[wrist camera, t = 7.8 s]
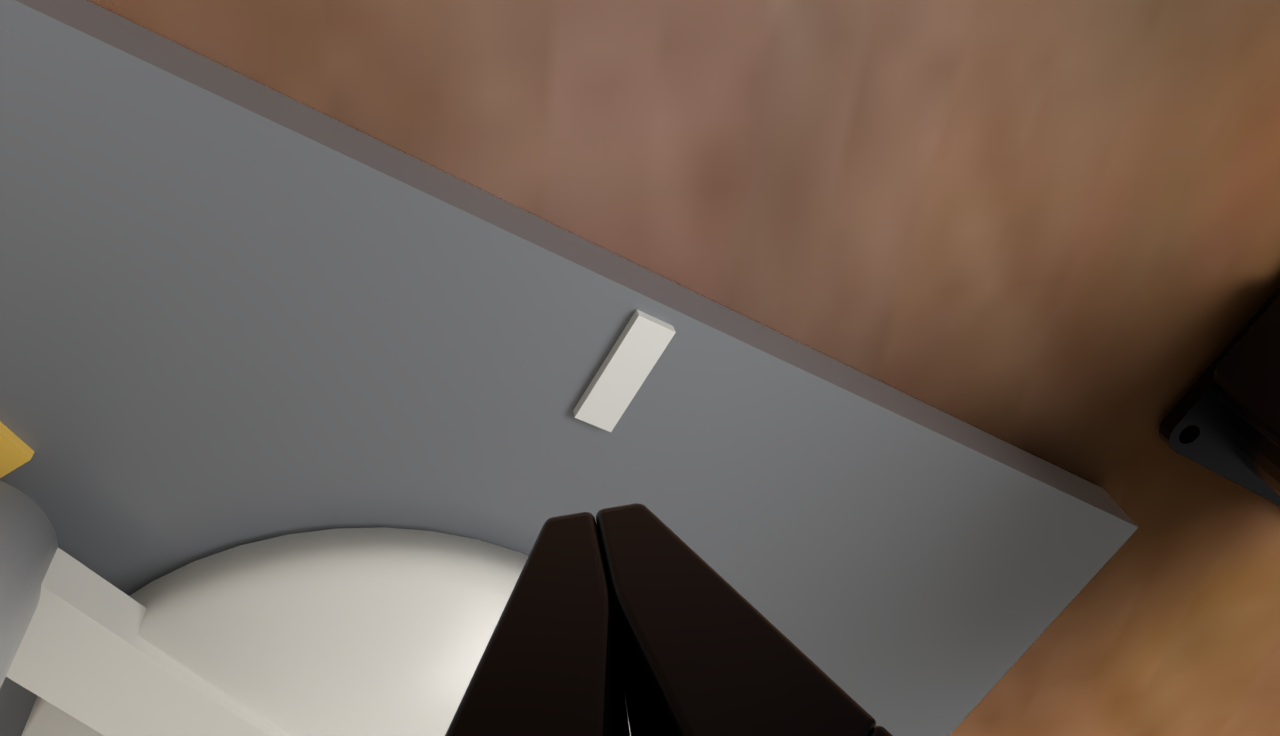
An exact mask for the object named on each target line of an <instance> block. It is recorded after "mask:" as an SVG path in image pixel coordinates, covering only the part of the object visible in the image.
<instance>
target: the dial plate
mask: <svg viewBox="0 0 1280 736" xmlns="http://www.w3.org/2000/svg"><path fill="white" fill-rule="evenodd" d="M0 481H3V482H5V483H7V484H9V485H11V486H13V487H15V488H16V489H18V490H19V491H21V492H23V493H24V494H25V495H27V496H28V497H29V498H30V499H32V500H33V501H34V502H35V503H36V504H37V505H38V506H39V507H40V508H41V509H42V510H43V512H44V513H45V514H46V515H47V517H48V518H49V520H50V522H51V524H52V525H53V528H54V530H55V533H56V536H57V541H58V548H60V549H61V550H63V551H64V552H66V553H67V554H69V555H70V556H72V557H73V558H74V559H76V560H77V561H79V562H80V563H82V564H83V565H85V566H86V567H88V568H89V569H90V570H92V571H93V572H95V573H96V574H98V575H99V576H101V577H102V578H103V579H105V580H106V581H108V582H109V583H111V584H112V585H114V586H115V587H117V588H118V589H119V590H121V591H122V592H124V593H125V594H127V595H128V596H130V595H132V594H133V593H135V592H136V591H138V590H139V589H141V588H143V587H144V586H146V585H147V584H149V583H150V582H152V581H154V580H156V579H158V578H160V577H162V576H164V575H167V574H169V573H171V572H173V571H175V570H177V569H179V568H181V567H183V566H185V565H187V564H189V563H192V562H194V561H197V560H199V559H202V558H205V557H208V556H211V555H214V554H217V553H220V552H222V551H225V550H228V549H231V548H234V547H237V546H240V545H244V544H249V543H253V542H257V541H262V540H266V539H270V538H275V537H279V536H283V535H288V534H296V533H304V532H312V531H320V530H328V529H337V528H379V527H387V528H399V529H412V530H425V531H435V532H440V533H445V534H451V535H456V536H462V537H467V538H472V539H478V540H481V541H484V542H488V543H491V544H494V545H498V546H501V547H504V548H507V549H511V550H514V551H517V552H520V553H523V554H525V555H527V556H529V554H530V552H531V550H532V548H533V546H534V544H535V541H536V539H537V537H538V535H539V533H540V531H541V529H542V526H543V525H544V523H545V521H546V520H548V519H549V518H552V517H557V516H563V515H569V514H574V513H580V512H589V513H592V515H593V516H594V517H595V521H596V515H597V512H598V511H599V510H601V509H604V508H610V507H616V506H622V505H628V504H634V503H640V504H643V505H645V506H646V507H647V508H648V509H649V510H650V511H651V512H652V513H653V514H654V515H656V516H657V517H658V518H659V519H660V520H661V521H662V522H663V523H664V524H665V525H666V526H667V527H668V528H670V529H671V530H672V531H673V532H674V533H675V534H676V535H677V536H678V537H679V538H680V539H681V540H682V541H684V542H685V543H686V544H687V545H688V546H689V547H690V548H691V549H692V550H693V551H694V552H695V553H696V554H698V555H699V556H700V557H701V558H702V559H703V560H704V561H705V562H706V563H707V564H708V565H709V566H710V567H711V568H713V569H714V570H715V571H716V572H717V573H718V574H719V575H720V576H721V577H722V578H723V579H724V580H725V581H727V582H728V583H729V584H730V585H731V586H732V587H733V588H734V589H735V590H736V591H737V592H738V593H739V594H741V595H742V596H743V597H744V598H745V599H746V600H747V601H748V602H749V603H750V604H751V605H752V606H753V607H755V608H756V609H757V610H758V611H759V612H760V613H761V614H762V615H763V616H764V617H765V618H766V619H767V620H768V621H770V622H771V623H772V624H773V625H774V626H775V627H776V628H777V629H778V630H779V631H780V632H781V633H782V634H784V635H785V636H786V637H787V638H788V639H789V640H790V641H791V642H792V643H793V644H794V645H795V646H796V647H798V648H799V649H800V650H801V651H802V652H803V653H804V654H805V655H806V656H807V657H808V658H809V659H810V660H812V661H813V662H814V663H815V664H816V665H817V666H818V667H819V668H820V669H821V670H822V671H823V672H824V673H825V674H827V675H828V676H829V677H830V678H831V679H832V680H833V681H834V682H835V683H836V684H837V685H838V686H839V687H841V688H842V689H843V690H844V691H845V692H846V693H847V694H848V695H849V696H850V697H851V698H852V699H853V700H855V701H856V702H857V703H858V704H859V705H860V706H861V707H862V708H863V709H864V710H865V711H866V712H867V713H869V714H870V715H871V716H872V717H873V718H874V719H875V721H876V727H877V726H882V727H884V728H885V729H886V730H887V731H888V732H889V733H891V734H892V735H893V736H949V735H950V734H951V733H952V732H953V731H954V729H955V728H956V727H957V726H958V725H959V724H960V723H961V722H962V721H963V720H964V718H965V717H966V716H967V715H968V714H969V713H970V712H971V711H972V710H973V709H974V708H975V706H976V705H977V704H978V703H979V702H980V701H981V700H982V699H983V698H984V697H985V695H986V694H987V693H988V692H989V691H990V690H991V689H992V688H993V687H994V686H995V684H996V683H997V682H998V681H999V680H1000V679H1001V678H1002V677H1003V676H1004V675H1005V674H1006V672H1007V671H1008V670H1009V669H1010V668H1011V667H1012V666H1013V665H1014V664H1015V663H1016V661H1017V660H1018V659H1019V658H1020V657H1021V656H1022V655H1023V654H1024V653H1025V652H1026V650H1027V649H1028V648H1029V647H1030V646H1031V645H1032V644H1033V643H1034V642H1035V641H1036V639H1037V638H1038V637H1039V636H1040V635H1041V634H1042V633H1043V632H1044V631H1045V630H1046V629H1047V627H1048V626H1049V625H1050V624H1051V623H1052V622H1053V621H1054V620H1055V619H1056V618H1057V616H1058V615H1059V614H1060V613H1061V612H1062V611H1063V610H1064V609H1065V608H1066V607H1067V605H1068V604H1069V603H1070V602H1071V601H1072V600H1073V599H1074V598H1075V597H1076V596H1077V595H1078V593H1079V592H1080V591H1081V590H1082V589H1083V588H1084V587H1085V586H1086V585H1087V584H1088V582H1089V581H1090V580H1091V579H1092V578H1093V577H1094V576H1095V575H1096V574H1097V573H1098V571H1099V570H1100V569H1101V568H1102V567H1103V566H1104V565H1105V564H1106V563H1107V562H1108V560H1109V559H1110V558H1111V557H1112V556H1113V555H1114V554H1115V553H1116V552H1117V551H1118V550H1119V548H1120V547H1121V546H1122V545H1123V544H1124V543H1125V542H1126V541H1127V540H1128V539H1129V537H1130V536H1131V535H1132V534H1133V533H1134V532H1135V531H1136V530H1137V529H1138V528H1139V527H1138V526H1137V525H1136V524H1135V523H1134V522H1133V521H1132V519H1131V518H1130V517H1129V516H1128V515H1127V514H1126V513H1125V512H1124V511H1123V510H1122V508H1121V507H1120V506H1119V505H1118V504H1117V503H1116V502H1115V501H1114V500H1113V499H1112V497H1111V496H1110V495H1109V494H1108V493H1107V492H1106V491H1105V490H1104V489H1103V488H1101V487H1099V486H1097V485H1095V484H1093V483H1091V482H1088V481H1086V480H1084V479H1082V478H1080V477H1078V476H1076V475H1074V474H1072V473H1070V472H1068V471H1066V470H1064V469H1061V468H1059V467H1057V466H1055V465H1053V464H1051V463H1049V462H1047V461H1045V460H1043V459H1041V458H1039V457H1036V456H1034V455H1032V454H1030V453H1028V452H1026V451H1024V450H1022V449H1020V448H1018V447H1016V446H1014V445H1011V444H1009V443H1007V442H1005V441H1003V440H1001V439H999V438H997V437H995V436H993V435H991V434H989V433H987V432H984V431H982V430H980V429H978V428H976V427H974V426H972V425H970V424H968V423H966V422H964V421H962V420H959V419H957V418H955V417H953V416H951V415H949V414H947V413H945V412H943V411H941V410H939V409H937V408H934V407H932V406H930V405H928V404H926V403H924V402H922V401H920V400H918V399H916V398H914V397H912V396H910V395H907V394H905V393H903V392H901V391H899V390H897V389H895V388H893V387H891V386H889V385H887V384H885V383H882V382H880V381H878V380H876V379H874V378H872V377H870V376H868V375H866V374H864V373H862V372H860V371H857V370H855V369H853V368H851V367H849V366H847V365H845V364H843V363H841V362H839V361H837V360H835V359H833V358H830V357H828V356H826V355H824V354H822V353H820V352H818V351H816V350H814V349H812V348H810V347H808V346H805V345H803V344H801V343H799V342H797V341H795V340H793V339H791V338H789V337H787V336H785V335H783V334H780V333H778V332H776V331H774V330H772V329H770V328H768V327H766V326H764V325H762V324H760V323H758V322H756V321H753V320H751V319H749V318H747V317H745V316H743V315H741V314H739V313H737V312H735V311H733V310H731V309H728V308H726V307H724V306H722V305H720V304H718V303H716V302H714V301H712V300H710V299H708V298H706V297H703V296H701V295H699V294H697V293H695V292H693V291H691V290H689V289H687V288H685V287H683V286H681V285H679V284H676V283H674V282H672V281H670V280H668V279H666V278H664V277H662V276H660V275H658V274H656V273H654V272H651V271H649V270H647V269H645V268H643V267H641V266H639V265H637V264H635V263H633V262H631V261H629V260H626V259H624V258H622V257H620V256H618V255H616V254H614V253H612V252H610V251H608V250H606V249H604V248H602V247H599V246H597V245H595V244H593V243H591V242H589V241H587V240H585V239H583V238H581V237H579V236H577V235H574V234H572V233H570V232H568V231H566V230H564V229H562V228H560V227H558V226H556V225H554V224H552V223H549V222H547V221H545V220H543V219H541V218H539V217H537V216H535V215H533V214H531V213H529V212H527V211H525V210H522V209H520V208H518V207H516V206H514V205H512V204H510V203H508V202H506V201H504V200H502V199H500V198H497V197H495V196H493V195H491V194H489V193H487V192H485V191H483V190H481V189H479V188H477V187H475V186H472V185H470V184H468V183H466V182H464V181H462V180H460V179H458V178H456V177H454V176H452V175H450V174H448V173H445V172H443V171H441V170H439V169H437V168H435V167H433V166H431V165H429V164H427V163H425V162H423V161H420V160H418V159H416V158H414V157H412V156H410V155H408V154H406V153H404V152H402V151H400V150H398V149H395V148H393V147H391V146H389V145H387V144H385V143H383V142H381V141H379V140H377V139H375V138H373V137H371V136H368V135H366V134H364V133H362V132H360V131H358V130H356V129H354V128H352V127H350V126H348V125H346V124H343V123H341V122H339V121H337V120H335V119H333V118H331V117H329V116H327V115H325V114H323V113H321V112H318V111H316V110H314V109H312V108H310V107H308V106H306V105H304V104H302V103H300V102H298V101H296V100H294V99H291V98H289V97H287V96H285V95H283V94H281V93H279V92H277V91H275V90H273V89H271V88H269V87H266V86H264V85H262V84H260V83H258V82H256V81H254V80H252V79H250V78H248V77H246V76H244V75H241V74H239V73H237V72H235V71H233V70H231V69H229V68H227V67H225V66H223V65H221V64H219V63H217V62H214V61H212V60H210V59H208V58H206V57H204V56H202V55H200V54H198V53H196V52H194V51H192V50H189V49H187V48H185V47H183V46H181V45H179V44H177V43H175V42H173V41H171V40H169V39H167V38H164V37H162V36H160V35H158V34H156V33H154V32H152V31H150V30H148V29H146V28H144V27H142V26H140V25H137V24H135V23H133V22H131V21H129V20H127V19H125V18H123V17H121V16H119V15H117V14H115V13H112V12H110V11H108V10H106V9H104V8H102V7H100V6H98V5H96V4H94V3H92V2H90V1H87V0H0ZM37 696H38V695H36V694H34V693H33V692H31V691H29V690H28V689H26V688H24V687H23V686H21V685H19V684H18V683H16V682H14V681H13V680H11V679H9V678H8V677H5V679H4V682H3V684H2V686H1V688H0V736H22V733H23V731H24V728H25V726H26V723H27V721H28V718H29V716H30V713H31V711H32V708H33V706H34V703H35V701H36V698H37Z"/></svg>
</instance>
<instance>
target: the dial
mask: <svg viewBox="0 0 1280 736" xmlns="http://www.w3.org/2000/svg"><path fill="white" fill-rule="evenodd" d="M527 559H528V556H527V555H525V554H523V553H520V552H517V551H514V550H511V549H507V548H504V547H501V546H498V545H494V544H491V543H488V542H484V541H481V540H478V539H472V538H467V537H462V536H456V535H451V534H445V533H440V532H435V531H425V530H412V529H399V528H387V527H379V528H337V529H328V530H320V531H312V532H304V533H296V534H288V535H283V536H279V537H275V538H270V539H266V540H262V541H257V542H253V543H249V544H244V545H240V546H237V547H234V548H231V549H228V550H225V551H222V552H220V553H217V554H214V555H211V556H208V557H205V558H202V559H199V560H197V561H194V562H192V563H189V564H187V565H185V566H183V567H181V568H179V569H177V570H175V571H173V572H171V573H169V574H167V575H164V576H162V577H160V578H158V579H156V580H154V581H152V582H150V583H149V584H147V585H146V586H144V587H143V588H141V589H139V590H138V591H136V592H135V593H133V594H132V595H130V596H128V595H127V594H125V593H124V592H122V591H121V590H119V589H118V588H117V587H115V586H114V585H112V584H111V583H109V582H108V581H106V580H105V579H103V578H102V577H101V576H99V575H98V574H96V573H95V572H93V571H92V570H90V569H89V568H88V567H86V566H85V565H83V564H82V563H80V562H79V561H77V560H76V559H74V558H73V557H72V556H70V555H69V554H67V553H66V552H64V551H63V550H61V549H60V548H58V541H57V536H56V533H55V530H54V528H53V525H52V524H51V522H50V520H49V518H48V517H47V515H46V514H45V513H44V512H43V510H42V509H41V508H40V507H39V506H38V505H37V504H36V503H35V502H34V501H33V500H32V499H30V498H29V497H28V496H27V495H25V494H24V493H23V492H21V491H19V490H18V489H16V488H15V487H13V486H11V485H9V484H7V483H5V482H3V481H0V688H1V686H2V684H3V682H4V679H5V677H8V678H9V679H11V680H13V681H14V682H16V683H18V684H19V685H21V686H23V687H24V688H26V689H28V690H29V691H31V692H33V693H34V694H36V695H38V696H37V698H36V701H35V703H34V706H33V708H32V711H31V713H30V716H29V718H28V721H27V723H26V726H25V728H24V731H23V733H22V736H445V734H446V732H447V730H448V728H449V726H450V724H451V721H452V719H453V717H454V715H455V713H456V711H457V709H458V706H459V704H460V702H461V700H462V698H463V696H464V694H465V691H466V689H467V687H468V685H469V683H470V681H471V679H472V676H473V674H474V672H475V670H476V668H477V666H478V664H479V661H480V659H481V657H482V655H483V653H484V651H485V649H486V646H487V644H488V642H489V640H490V638H491V636H492V634H493V631H494V629H495V627H496V625H497V623H498V621H499V619H500V616H501V614H502V612H503V610H504V608H505V606H506V604H507V601H508V599H509V597H510V595H511V593H512V591H513V589H514V586H515V584H516V582H517V580H518V578H519V576H520V574H521V571H522V569H523V567H524V565H525V563H526V561H527ZM628 723H629V722H628ZM629 730H630V727H629ZM630 736H631V733H630Z"/></svg>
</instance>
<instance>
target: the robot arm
mask: <svg viewBox="0 0 1280 736" xmlns="http://www.w3.org/2000/svg"><path fill="white" fill-rule="evenodd" d="M1186 427H1187V429H1186V430H1185V431H1183V432H1182V430H1184V429H1185V428H1186ZM1181 432H1182V433H1181ZM1159 434H1160V438H1161V439H1162V440H1163V441H1164V442H1166V443H1167V444H1168V445H1169V446H1170V447H1171V448H1172V449H1173V450H1174V451H1175V452H1177V453H1179V454H1181V455H1183V456H1185V457H1187V458H1189V459H1191V460H1193V461H1195V462H1197V463H1198V464H1200V465H1202V466H1204V467H1206V468H1208V469H1210V470H1212V471H1214V472H1216V473H1218V474H1220V475H1222V476H1223V477H1225V478H1227V479H1229V480H1231V481H1233V482H1235V483H1237V484H1239V485H1241V486H1243V487H1245V488H1247V489H1249V490H1250V491H1252V492H1254V493H1256V494H1258V495H1260V496H1262V497H1264V498H1266V499H1268V500H1270V501H1272V502H1274V503H1275V504H1277V505H1279V506H1280V287H1279V289H1278V290H1277V291H1276V292H1275V293H1274V294H1273V295H1272V297H1271V298H1270V299H1269V300H1268V301H1267V302H1266V303H1265V305H1264V306H1263V307H1262V308H1261V309H1260V310H1259V311H1258V312H1257V314H1256V315H1255V316H1254V317H1253V318H1252V319H1251V320H1250V322H1249V323H1248V324H1247V325H1246V326H1245V327H1244V328H1243V330H1242V331H1241V332H1240V333H1239V334H1238V335H1237V336H1236V337H1235V339H1234V340H1233V341H1232V342H1231V343H1230V344H1229V345H1228V347H1227V348H1226V349H1225V350H1224V351H1223V352H1222V353H1221V355H1220V356H1219V357H1218V358H1217V359H1216V360H1215V361H1214V362H1213V364H1212V365H1211V366H1210V367H1209V368H1208V369H1207V370H1206V372H1205V373H1204V374H1203V375H1202V376H1201V377H1200V378H1199V380H1198V381H1197V382H1196V383H1195V384H1194V385H1193V386H1192V387H1191V389H1190V390H1189V391H1188V392H1187V393H1186V394H1185V395H1184V397H1183V398H1182V399H1181V400H1180V401H1179V402H1178V403H1177V405H1176V406H1175V407H1174V408H1173V409H1172V410H1171V411H1170V412H1169V414H1168V415H1167V416H1166V417H1165V418H1164V420H1163V421H1162V423H1161V424H1160V429H1159ZM628 722H629V723H628ZM629 727H630V730H629ZM630 733H631V736H893V735H892V734H891V733H889V732H888V731H887V730H886V729H885V728H884V727H882V726H877V727H876V721H875V719H874V718H873V717H872V716H871V715H870V714H869V713H867V712H866V711H865V710H864V709H863V708H862V707H861V706H860V705H859V704H858V703H857V702H856V701H855V700H853V699H852V698H851V697H850V696H849V695H848V694H847V693H846V692H845V691H844V690H843V689H842V688H841V687H839V686H838V685H837V684H836V683H835V682H834V681H833V680H832V679H831V678H830V677H829V676H828V675H827V674H825V673H824V672H823V671H822V670H821V669H820V668H819V667H818V666H817V665H816V664H815V663H814V662H813V661H812V660H810V659H809V658H808V657H807V656H806V655H805V654H804V653H803V652H802V651H801V650H800V649H799V648H798V647H796V646H795V645H794V644H793V643H792V642H791V641H790V640H789V639H788V638H787V637H786V636H785V635H784V634H782V633H781V632H780V631H779V630H778V629H777V628H776V627H775V626H774V625H773V624H772V623H771V622H770V621H768V620H767V619H766V618H765V617H764V616H763V615H762V614H761V613H760V612H759V611H758V610H757V609H756V608H755V607H753V606H752V605H751V604H750V603H749V602H748V601H747V600H746V599H745V598H744V597H743V596H742V595H741V594H739V593H738V592H737V591H736V590H735V589H734V588H733V587H732V586H731V585H730V584H729V583H728V582H727V581H725V580H724V579H723V578H722V577H721V576H720V575H719V574H718V573H717V572H716V571H715V570H714V569H713V568H711V567H710V566H709V565H708V564H707V563H706V562H705V561H704V560H703V559H702V558H701V557H700V556H699V555H698V554H696V553H695V552H694V551H693V550H692V549H691V548H690V547H689V546H688V545H687V544H686V543H685V542H684V541H682V540H681V539H680V538H679V537H678V536H677V535H676V534H675V533H674V532H673V531H672V530H671V529H670V528H668V527H667V526H666V525H665V524H664V523H663V522H662V521H661V520H660V519H659V518H658V517H657V516H656V515H654V514H653V513H652V512H651V511H650V510H649V509H648V508H647V507H646V506H645V505H643V504H640V503H634V504H628V505H622V506H616V507H610V508H604V509H601V510H599V511H598V512H597V515H596V521H595V517H594V516H593V515H592V513H589V512H580V513H574V514H569V515H563V516H557V517H552V518H549V519H548V520H546V521H545V523H544V525H543V526H542V529H541V531H540V533H539V535H538V537H537V539H536V541H535V544H534V546H533V548H532V550H531V552H530V554H529V556H528V559H527V561H526V563H525V565H524V567H523V569H522V571H521V574H520V576H519V578H518V580H517V582H516V584H515V586H514V589H513V591H512V593H511V595H510V597H509V599H508V601H507V604H506V606H505V608H504V610H503V612H502V614H501V616H500V619H499V621H498V623H497V625H496V627H495V629H494V631H493V634H492V636H491V638H490V640H489V642H488V644H487V646H486V649H485V651H484V653H483V655H482V657H481V659H480V661H479V664H478V666H477V668H476V670H475V672H474V674H473V676H472V679H471V681H470V683H469V685H468V687H467V689H466V691H465V694H464V696H463V698H462V700H461V702H460V704H459V706H458V709H457V711H456V713H455V715H454V717H453V719H452V721H451V724H450V726H449V728H448V730H447V732H446V734H445V736H630Z"/></svg>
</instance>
